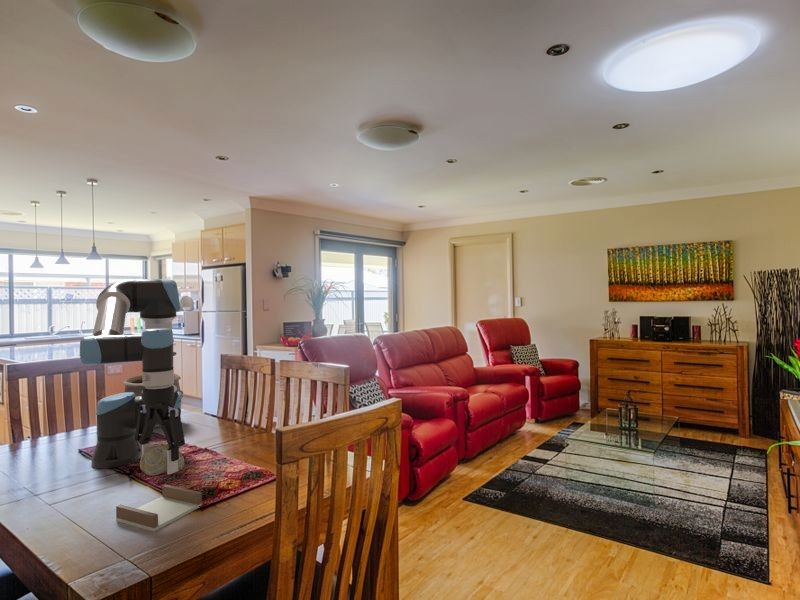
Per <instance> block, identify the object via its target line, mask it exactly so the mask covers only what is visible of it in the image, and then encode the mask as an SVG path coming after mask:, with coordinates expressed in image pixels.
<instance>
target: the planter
mask: <svg viewBox="0 0 800 600" xmlns="http://www.w3.org/2000/svg"><path fill="white" fill-rule="evenodd" d="M180 380H181V376H180V375H179V374H176V373H174V383H173V385H174V386H176V387H177V392H181V394H182V398H183V395H184V391H183V390H181V385H180V382H179V381H180ZM122 385H123V386H124V391H123V393H125V392H134V393H135V396H142V390H143V388H145V387H144V386H143V377H142V374H141V375H137V376H132V377H129V378H126V379H125V380H124V381H123V382H122ZM158 427H160V426H157V427H156V428H158Z"/></svg>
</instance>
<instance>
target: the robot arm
mask: <svg viewBox="0 0 800 600" xmlns="http://www.w3.org/2000/svg"><path fill="white" fill-rule="evenodd" d="M178 289H179V288H178V285H177V282H176V281H175V280H174V279H165V278H142V279H141V278H138V279H137V278H135V279H133V278H127V279H121V280H118V281H116V282H113V283H112V284H110V285H108V286H107V287H104V289H103V290H102V291H101V292H100V293H99V295H98V296H97V299H96V303H95V306H96V309H97V314H96V319H95V323H94V327H93V332H92V335H89V336H84V337H82V338H81V339H80V340H79V341H80V342H79V359H80V362H81V363H82V364H84V365H100V364H103V365H104V364H115V363H129V362H141V364H142V368H141V369H142V374H141V375H142V377H143V386H144V387H145V388H143V390H142V396H135V393H134V392H125V393H124V392H121V393H115V394H111V395H108V396H106V397H103V398H101V399H100V400H98V401H97V404H96V413H95V415H96V435H97V436H96V438H97V440H96V444H95V447H94V450H93V454H92V456H91V466H92V467H93V468H96V469H112V468H119V467H123V466H122V465H124V466H126V464H127V465H130V464H129V463H131V464H133V463H136V462H137V460H138V461H139V460H141V457H142V456H143V454H144V452H145V451H146V450H147V449H149V448H150V447H152V446H153V442H152V441H153V439H152V437H153V436H152V435H153V433H154V430H155V428H158V427H157V426H159V427H161V429H162V430H163V434H164V437H165V439H166V442H167V443H166V444H168V446H169V448H168V449H167V471H166V474H167V475H172V474H174V473H177V472H178V471H179V470H178V459H179V451H180V449H179V448H180V447H182V446H185V445H186V441H185V435H184V429H183V423H182V417H181V414H182V413H181V412H182V409H181V408H182V399H183V397H182V395H183V394H181V392H177V387H176V386H174V385H173V383H174V374H175V373H174V371H175V370H174V369H175V367H174V341H175V339H174V332H173V320H175V319H176V318H177V313H178V312H181V310H182V309H181V302H180V296H179V295H180V294H179V290H178ZM128 313H139V318H140V319H141V320H142V321H143V322H144V330H142V332H141V333H139V334H124V332H125V323H126V317H127V315H126V314H128ZM135 461H136V462H135ZM132 462H133V463H132ZM118 466H119V467H118Z"/></svg>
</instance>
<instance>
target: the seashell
mask: <svg viewBox="0 0 800 600" xmlns="http://www.w3.org/2000/svg"><path fill="white" fill-rule="evenodd" d="M168 448H169V446H168V443H159V444H156V445H152V447H150V448H149V449H147V450H146V451H145V452H144V454H143V456H142V455H141V458H140V459H139V460H140V461H139V469H140V470H141V471H142V472H143V473H144V474H145V475H149V476H158V475H160V474H163V472H167V449H168ZM184 459H185V458H184V456H183V454H182V452H181V451H180V450H179V459H178V471H181V470H183V469H184V467H185V460H184Z"/></svg>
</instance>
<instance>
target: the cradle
mask: <svg viewBox="0 0 800 600" xmlns="http://www.w3.org/2000/svg"><path fill="white" fill-rule="evenodd" d="M161 489H162V491H161V494H162V495H161V496H160V497H158V498H156V499H154V500H152V501H149V502H147V503H145V504H143V505H140V506H139V507H137V508H136V507H131V506H129V505H128V506H127V505H124V504H118V505H116V506H115V516H116V517H115V519H116V520H115V521H116V522H119V523H123V524H126V525H130V526H133V527H137V528H141V529H144V530H147V531H151V532H156V531H158V530H159V529H162V528H163V527H165V526H167V525H169V524H170V523H173V522H175V521H177V520H179V519H180V518H182V517H184V516H186V515H187V514H190V513H191V512H193V511H196V510H197V509H199V508H200V507H199V506H201V505H202V506H203V503H202V502H203V497H202V496H203V494H202V491H196V490H193V489H188V488H183V487H179V486H174V485H169V484H164V485H162V486H161ZM202 506H201V507H202Z"/></svg>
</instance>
